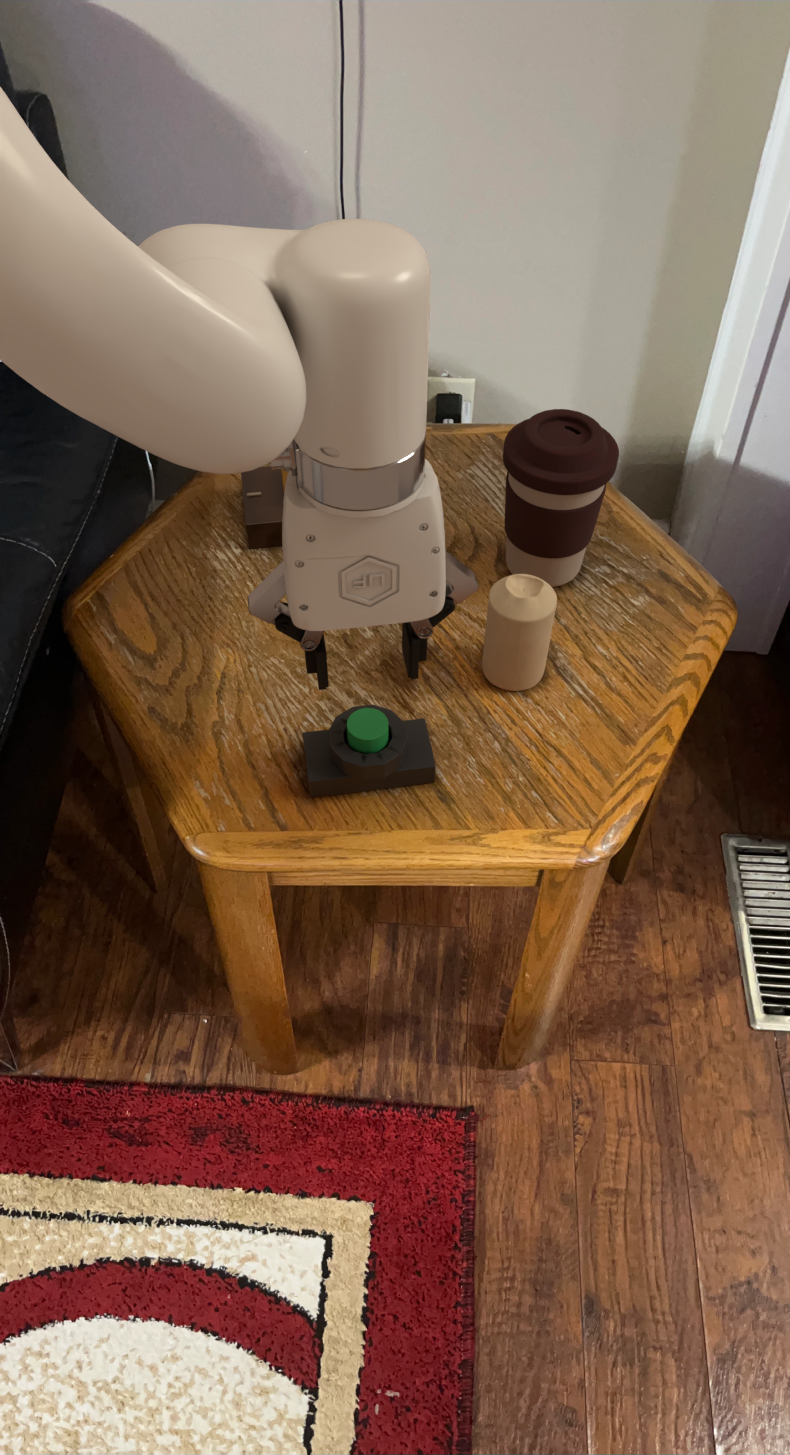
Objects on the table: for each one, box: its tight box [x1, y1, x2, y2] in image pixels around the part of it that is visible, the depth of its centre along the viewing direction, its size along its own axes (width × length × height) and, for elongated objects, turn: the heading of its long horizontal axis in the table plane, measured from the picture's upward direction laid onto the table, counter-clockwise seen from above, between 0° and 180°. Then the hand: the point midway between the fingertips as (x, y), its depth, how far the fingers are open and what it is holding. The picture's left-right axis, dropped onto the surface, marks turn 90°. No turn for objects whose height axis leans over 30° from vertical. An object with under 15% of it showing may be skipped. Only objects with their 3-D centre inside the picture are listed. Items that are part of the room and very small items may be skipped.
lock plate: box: [240, 465, 284, 550], centre depth 98 cm, size 10×9×3 cm
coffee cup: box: [502, 408, 620, 588], centre depth 89 cm, size 10×10×15 cm
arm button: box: [347, 708, 388, 754], centre depth 76 cm, size 3×3×2 cm
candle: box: [481, 574, 558, 692], centre depth 82 cm, size 6×6×10 cm
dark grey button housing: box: [302, 704, 437, 798], centre depth 78 cm, size 10×6×4 cm, turn 99°
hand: (366, 668), depth 70 cm, fingers open, 5 cm apart
